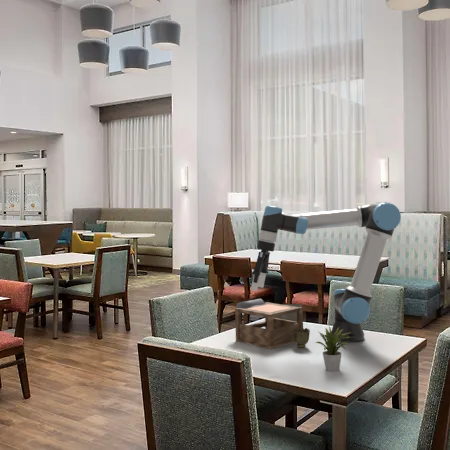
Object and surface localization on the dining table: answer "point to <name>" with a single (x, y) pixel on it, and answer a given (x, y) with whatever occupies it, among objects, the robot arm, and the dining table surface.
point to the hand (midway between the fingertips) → (257, 288)
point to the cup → (301, 337)
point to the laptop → (290, 314)
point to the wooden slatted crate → (268, 327)
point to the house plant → (332, 349)
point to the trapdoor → (260, 306)
